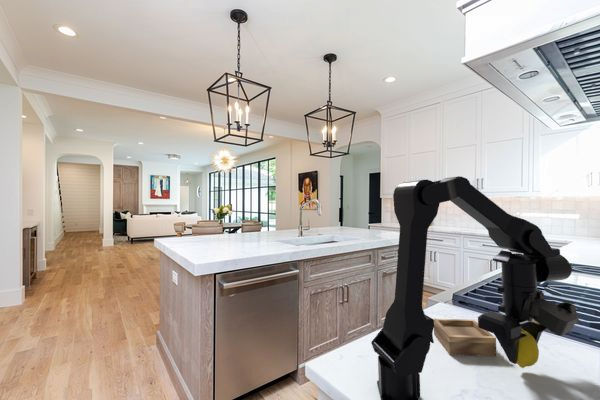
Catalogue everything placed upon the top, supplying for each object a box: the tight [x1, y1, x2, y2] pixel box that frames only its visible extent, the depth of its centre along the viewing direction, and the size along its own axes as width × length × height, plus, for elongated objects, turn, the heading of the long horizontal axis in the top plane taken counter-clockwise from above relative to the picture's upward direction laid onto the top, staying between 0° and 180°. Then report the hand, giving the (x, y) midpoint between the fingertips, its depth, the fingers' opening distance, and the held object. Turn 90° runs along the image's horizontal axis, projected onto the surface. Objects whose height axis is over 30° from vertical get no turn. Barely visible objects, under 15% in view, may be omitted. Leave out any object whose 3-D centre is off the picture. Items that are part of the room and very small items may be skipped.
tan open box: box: [433, 318, 498, 358], centre depth 69 cm, size 10×10×4 cm
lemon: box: [515, 329, 540, 369], centre depth 58 cm, size 6×6×8 cm
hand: (521, 359), depth 58 cm, fingers closed on lemon, 5 cm apart
